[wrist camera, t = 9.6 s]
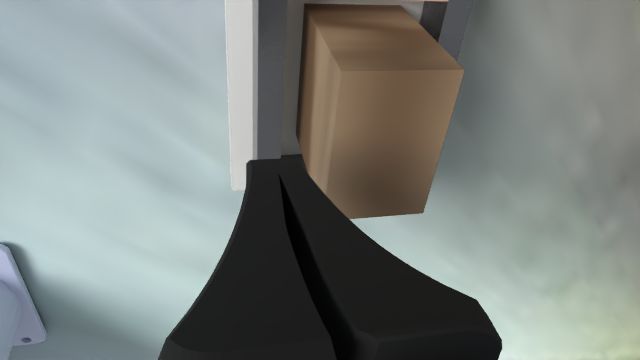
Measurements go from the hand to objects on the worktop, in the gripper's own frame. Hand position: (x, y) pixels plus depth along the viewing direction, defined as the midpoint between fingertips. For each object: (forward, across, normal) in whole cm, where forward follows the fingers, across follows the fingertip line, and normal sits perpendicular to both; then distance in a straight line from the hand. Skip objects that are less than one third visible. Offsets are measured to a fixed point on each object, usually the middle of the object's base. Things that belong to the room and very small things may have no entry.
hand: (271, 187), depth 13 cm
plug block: (+8, -4, 0) cm, 9 cm away
